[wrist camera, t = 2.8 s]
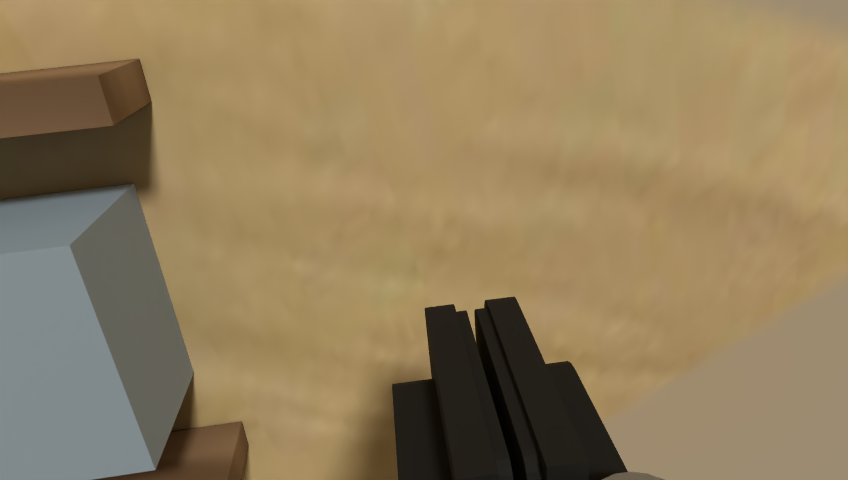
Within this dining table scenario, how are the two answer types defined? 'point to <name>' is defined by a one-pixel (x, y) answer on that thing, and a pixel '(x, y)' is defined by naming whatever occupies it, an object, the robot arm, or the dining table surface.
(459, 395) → the robot arm
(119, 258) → the slate block
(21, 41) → the dining table surface
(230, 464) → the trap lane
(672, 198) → the dining table surface
